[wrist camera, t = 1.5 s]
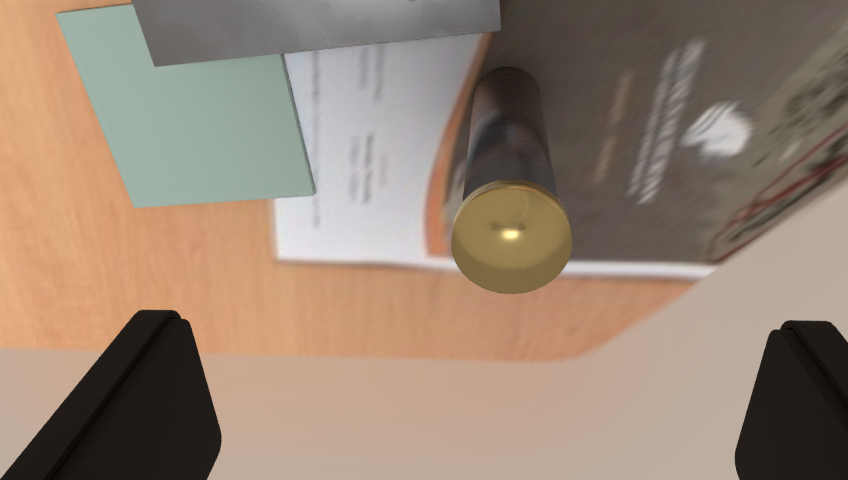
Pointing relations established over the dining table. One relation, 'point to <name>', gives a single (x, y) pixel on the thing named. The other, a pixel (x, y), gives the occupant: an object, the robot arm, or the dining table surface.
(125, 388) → the robot arm
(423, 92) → the dining table surface
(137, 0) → the block
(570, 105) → the dining table surface
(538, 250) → the grey cylinder
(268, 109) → the mat
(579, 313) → the dining table surface
